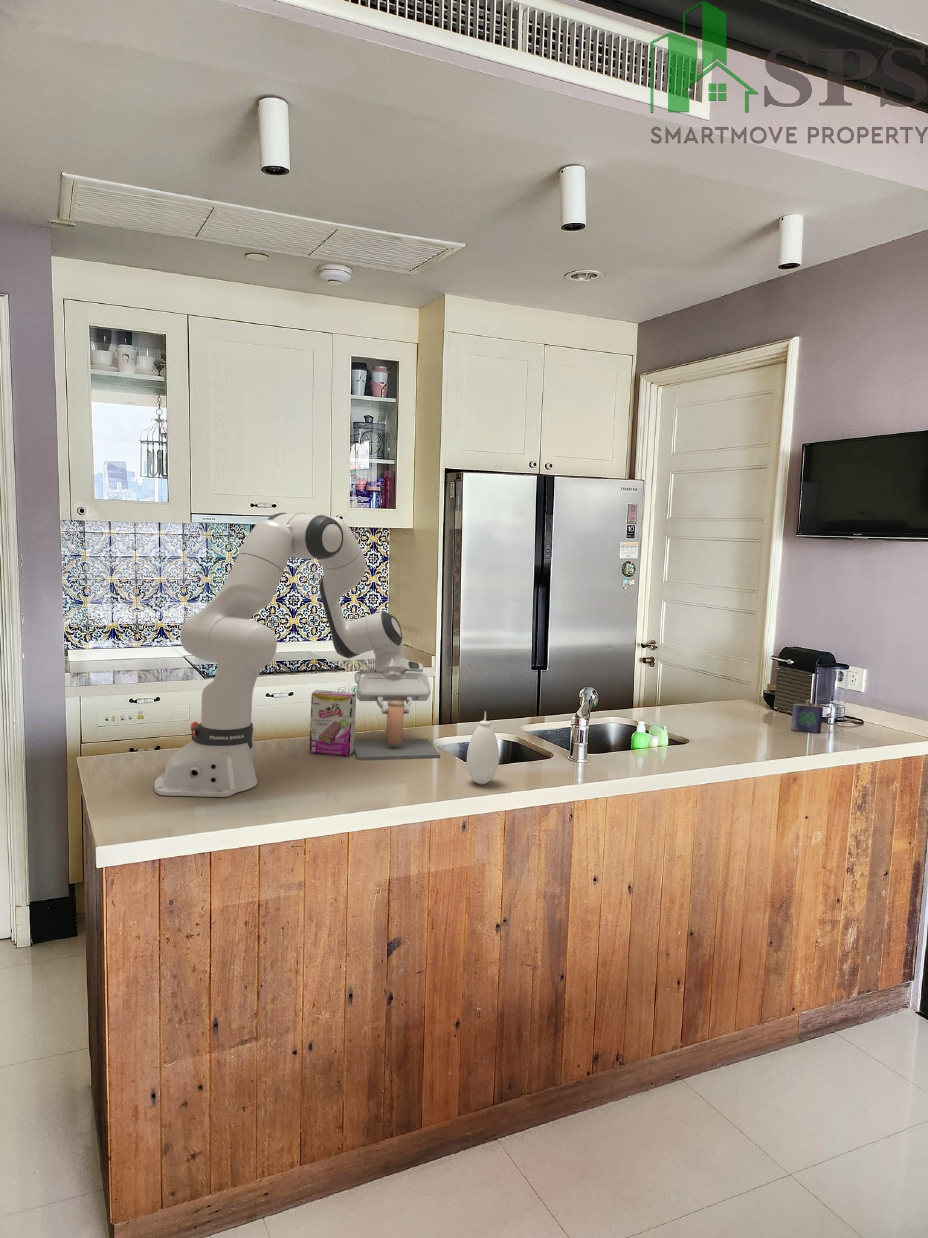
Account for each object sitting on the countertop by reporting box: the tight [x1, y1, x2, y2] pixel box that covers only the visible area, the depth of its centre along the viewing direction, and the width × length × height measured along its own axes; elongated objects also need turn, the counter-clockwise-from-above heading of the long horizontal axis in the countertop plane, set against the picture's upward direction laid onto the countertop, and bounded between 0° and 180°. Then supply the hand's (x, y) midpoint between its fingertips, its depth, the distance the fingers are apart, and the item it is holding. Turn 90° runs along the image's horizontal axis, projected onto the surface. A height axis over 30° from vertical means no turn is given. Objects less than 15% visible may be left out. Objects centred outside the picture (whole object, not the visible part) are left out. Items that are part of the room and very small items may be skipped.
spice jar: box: [385, 700, 405, 745], centre depth 226 cm, size 4×4×11 cm
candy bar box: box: [308, 689, 357, 757], centre depth 221 cm, size 11×5×16 cm, turn 84°
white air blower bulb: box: [466, 711, 500, 785], centre depth 202 cm, size 8×8×18 cm
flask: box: [790, 699, 824, 735], centre depth 273 cm, size 9×3×11 cm, turn 76°
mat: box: [353, 738, 441, 761], centre depth 227 cm, size 22×16×1 cm
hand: (395, 712), depth 225 cm, fingers closed on spice jar, 4 cm apart
